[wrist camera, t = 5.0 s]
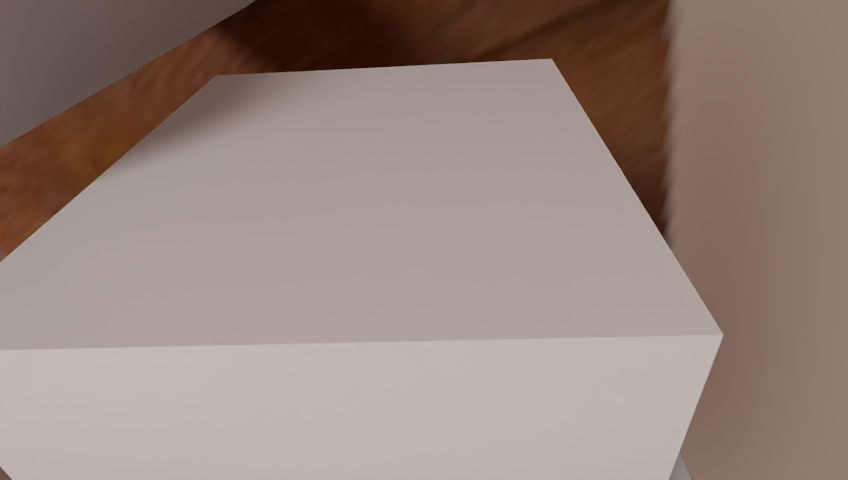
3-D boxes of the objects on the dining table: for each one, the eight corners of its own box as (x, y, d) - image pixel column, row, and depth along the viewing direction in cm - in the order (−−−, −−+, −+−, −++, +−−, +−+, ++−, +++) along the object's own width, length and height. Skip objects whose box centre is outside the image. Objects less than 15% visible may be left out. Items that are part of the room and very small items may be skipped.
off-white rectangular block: (215, 75, 11) (-104, 352, 5) (551, 58, 11) (724, 335, 4) (310, 407, 17) (233, 721, 11) (523, 404, 17) (574, 728, 10)
